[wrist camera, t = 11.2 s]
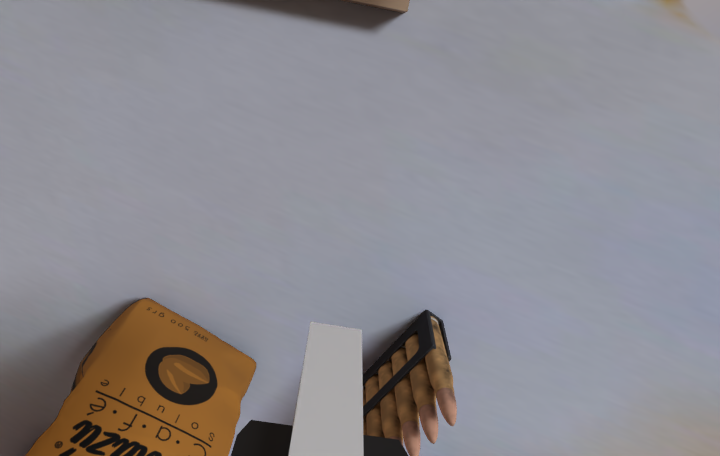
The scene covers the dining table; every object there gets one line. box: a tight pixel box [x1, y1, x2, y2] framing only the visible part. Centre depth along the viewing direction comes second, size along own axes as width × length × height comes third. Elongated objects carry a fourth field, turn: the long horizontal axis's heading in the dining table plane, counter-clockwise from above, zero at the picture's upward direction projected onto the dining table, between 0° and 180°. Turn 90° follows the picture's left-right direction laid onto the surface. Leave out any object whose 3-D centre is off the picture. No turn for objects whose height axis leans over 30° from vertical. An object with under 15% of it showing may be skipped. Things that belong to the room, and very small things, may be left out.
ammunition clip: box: [363, 310, 457, 456], centre depth 38 cm, size 11×2×12 cm, turn 141°
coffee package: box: [26, 298, 256, 456], centre depth 33 cm, size 10×12×22 cm
